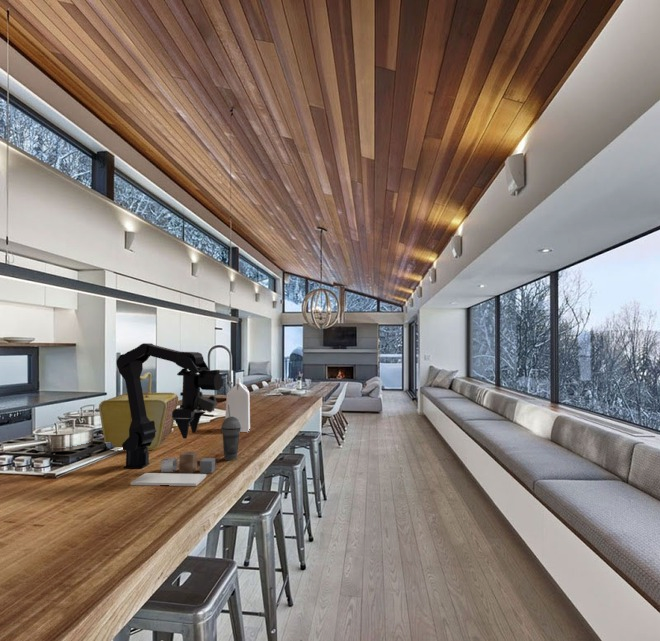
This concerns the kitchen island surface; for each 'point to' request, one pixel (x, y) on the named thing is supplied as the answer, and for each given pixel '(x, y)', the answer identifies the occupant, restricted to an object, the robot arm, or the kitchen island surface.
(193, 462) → the walnut block
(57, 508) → the kitchen island surface
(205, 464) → the charcoal block
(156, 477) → the cream tile
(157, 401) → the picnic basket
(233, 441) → the beverage cup
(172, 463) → the grey metal block
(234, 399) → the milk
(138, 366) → the robot arm
